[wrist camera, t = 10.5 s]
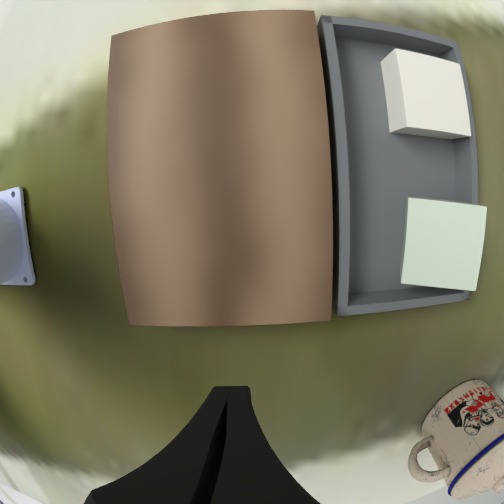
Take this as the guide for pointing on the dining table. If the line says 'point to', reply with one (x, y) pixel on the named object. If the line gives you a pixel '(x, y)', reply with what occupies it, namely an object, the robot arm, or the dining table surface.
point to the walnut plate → (221, 170)
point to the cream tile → (425, 96)
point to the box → (383, 165)
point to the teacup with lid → (464, 441)
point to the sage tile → (442, 243)
